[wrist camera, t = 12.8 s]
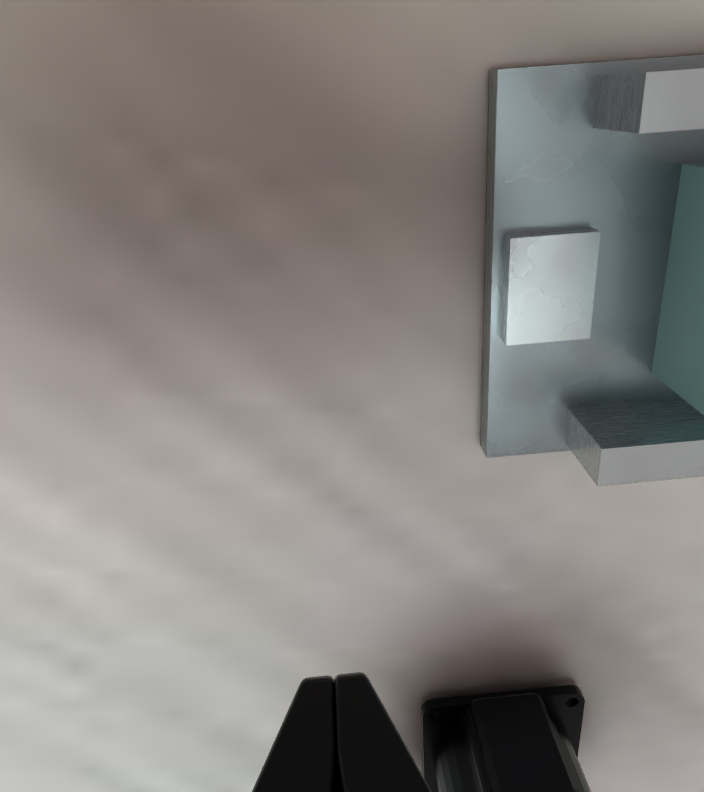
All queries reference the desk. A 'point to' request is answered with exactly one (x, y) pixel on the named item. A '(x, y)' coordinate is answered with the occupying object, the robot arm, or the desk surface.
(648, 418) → the plate
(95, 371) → the desk surface
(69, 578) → the desk surface
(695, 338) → the block
